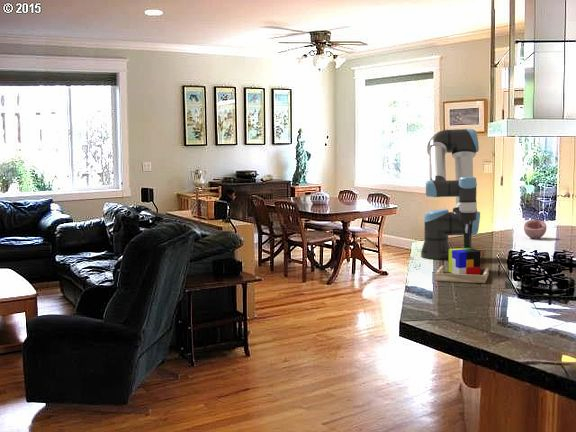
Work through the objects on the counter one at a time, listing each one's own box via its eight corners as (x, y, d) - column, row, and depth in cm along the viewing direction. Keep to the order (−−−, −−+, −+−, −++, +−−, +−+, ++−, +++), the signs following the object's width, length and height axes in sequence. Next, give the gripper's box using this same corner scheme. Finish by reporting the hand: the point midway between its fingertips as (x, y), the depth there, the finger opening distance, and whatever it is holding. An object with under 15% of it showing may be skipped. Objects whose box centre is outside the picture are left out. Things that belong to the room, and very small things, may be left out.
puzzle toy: (459, 275, 281) (459, 252, 280) (448, 271, 291) (448, 249, 290) (480, 274, 283) (480, 251, 282) (469, 269, 293) (469, 247, 292)
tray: (441, 272, 289) (441, 265, 289) (488, 274, 282) (488, 267, 282) (434, 280, 273) (434, 273, 272) (485, 283, 265) (485, 275, 265)
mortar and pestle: (524, 240, 372) (524, 219, 371) (523, 236, 383) (523, 217, 382) (547, 240, 368) (547, 219, 367) (545, 237, 380) (545, 217, 378)
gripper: (460, 210, 301) (460, 260, 304) (457, 212, 289) (457, 265, 292) (477, 210, 298) (477, 261, 301) (475, 213, 286) (475, 266, 289)
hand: (467, 263), depth 296 cm, fingers closed
